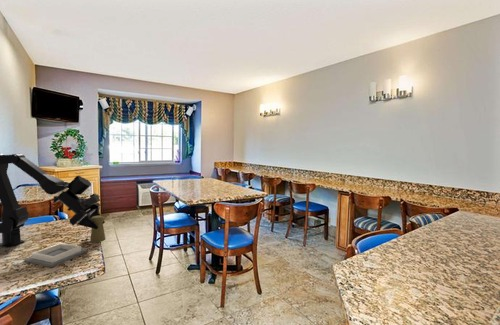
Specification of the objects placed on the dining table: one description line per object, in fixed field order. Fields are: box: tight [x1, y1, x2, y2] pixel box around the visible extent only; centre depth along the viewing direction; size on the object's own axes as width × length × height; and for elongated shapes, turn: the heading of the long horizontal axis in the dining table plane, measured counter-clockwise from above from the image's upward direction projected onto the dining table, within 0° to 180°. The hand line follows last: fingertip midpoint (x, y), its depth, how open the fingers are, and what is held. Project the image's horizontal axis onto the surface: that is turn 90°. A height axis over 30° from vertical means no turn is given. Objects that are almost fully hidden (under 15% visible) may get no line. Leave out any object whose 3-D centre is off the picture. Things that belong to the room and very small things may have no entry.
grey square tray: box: [23, 242, 88, 268], centre depth 99 cm, size 14×14×3 cm
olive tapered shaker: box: [89, 215, 106, 244], centre depth 116 cm, size 6×6×11 cm
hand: (100, 225), depth 116 cm, fingers open, 7 cm apart
